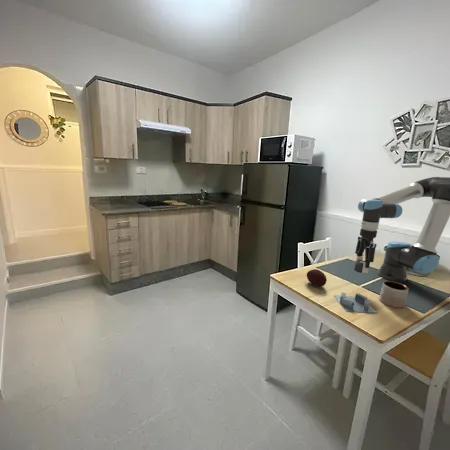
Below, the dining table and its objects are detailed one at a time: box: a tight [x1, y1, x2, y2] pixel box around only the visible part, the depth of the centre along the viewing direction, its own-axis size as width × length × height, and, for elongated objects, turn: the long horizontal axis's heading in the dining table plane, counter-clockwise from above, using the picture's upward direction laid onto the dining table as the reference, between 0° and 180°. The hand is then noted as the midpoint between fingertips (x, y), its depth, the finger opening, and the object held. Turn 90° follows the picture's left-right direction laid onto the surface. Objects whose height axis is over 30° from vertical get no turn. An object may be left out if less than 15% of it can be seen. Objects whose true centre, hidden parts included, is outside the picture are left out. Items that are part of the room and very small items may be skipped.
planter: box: [379, 280, 410, 309], centre depth 120 cm, size 11×11×10 cm
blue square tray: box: [333, 292, 377, 314], centre depth 117 cm, size 14×14×3 cm
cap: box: [354, 259, 365, 274], centre depth 129 cm, size 6×6×5 cm
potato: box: [306, 268, 328, 288], centre depth 134 cm, size 9×12×9 cm
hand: (361, 270), depth 129 cm, fingers closed on cap, 6 cm apart
